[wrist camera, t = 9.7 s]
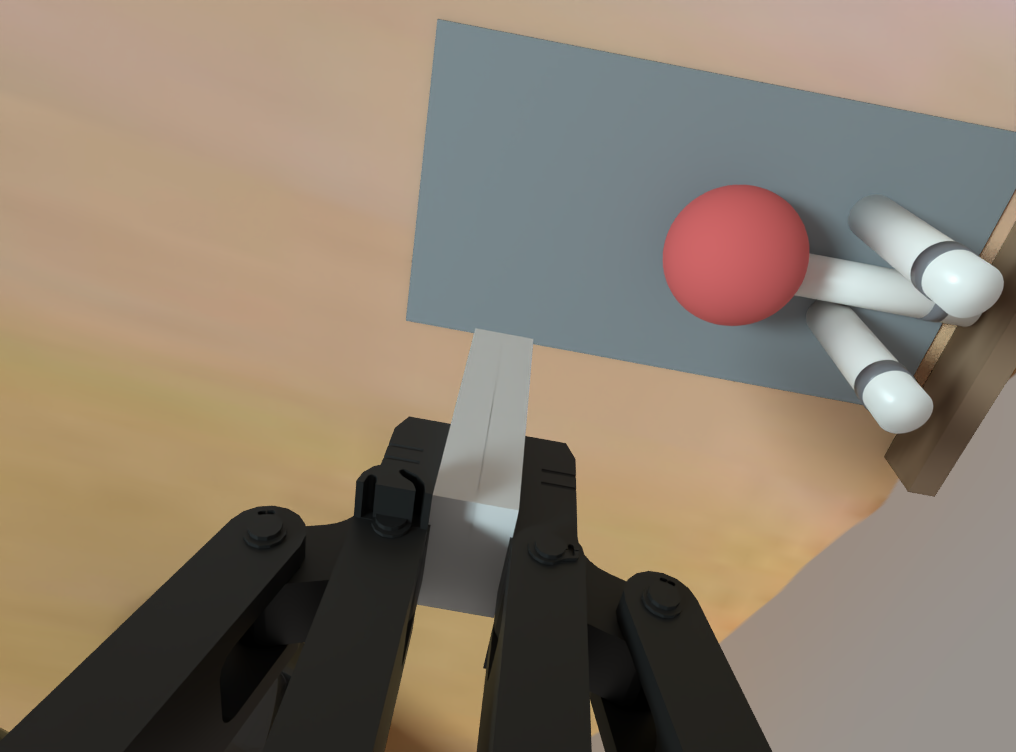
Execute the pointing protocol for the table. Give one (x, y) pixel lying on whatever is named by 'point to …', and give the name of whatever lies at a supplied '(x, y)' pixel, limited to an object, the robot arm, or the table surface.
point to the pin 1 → (927, 257)
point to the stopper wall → (961, 387)
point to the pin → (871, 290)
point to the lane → (662, 200)
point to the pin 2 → (870, 368)
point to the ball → (736, 255)
